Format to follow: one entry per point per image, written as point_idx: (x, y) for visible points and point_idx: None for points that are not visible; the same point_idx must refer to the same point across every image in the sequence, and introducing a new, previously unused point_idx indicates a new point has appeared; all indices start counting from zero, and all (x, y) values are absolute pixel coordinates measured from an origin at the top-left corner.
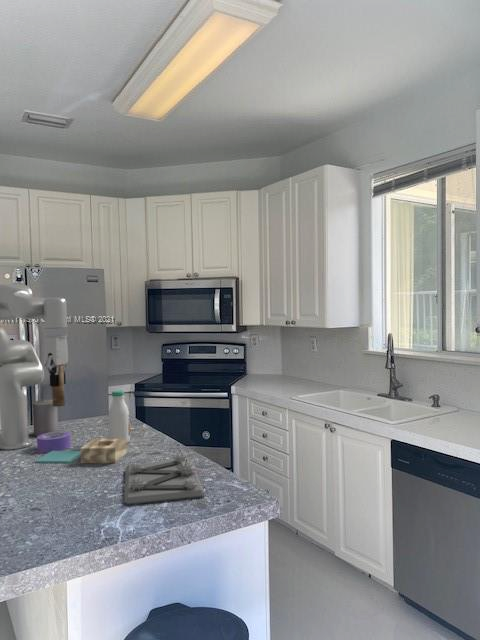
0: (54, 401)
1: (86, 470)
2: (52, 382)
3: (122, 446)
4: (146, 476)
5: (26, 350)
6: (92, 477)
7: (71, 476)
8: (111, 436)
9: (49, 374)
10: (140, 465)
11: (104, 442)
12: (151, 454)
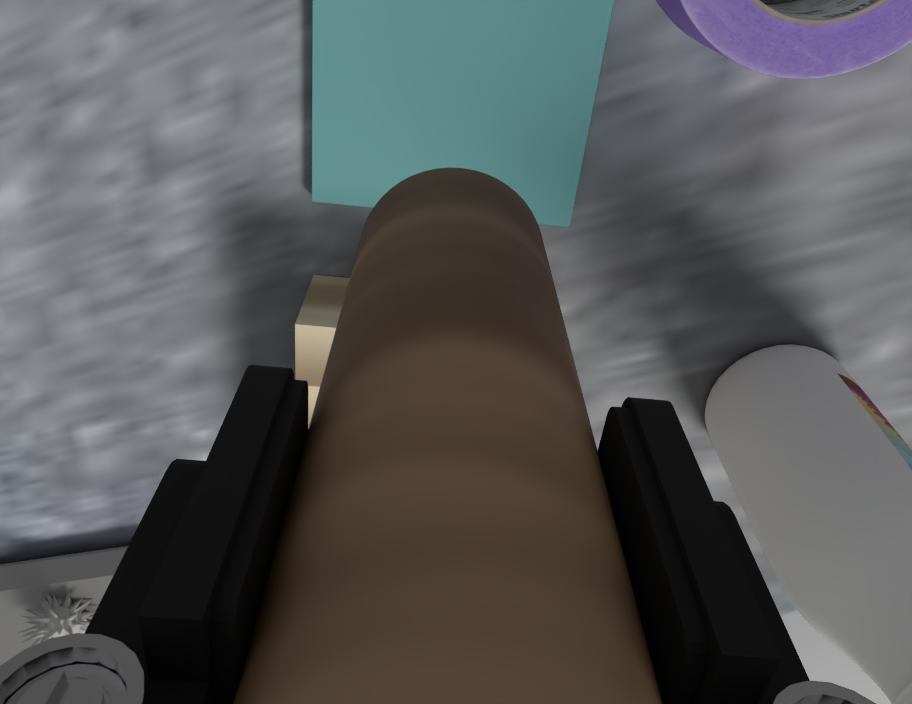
0: (356, 257)
1: (170, 346)
2: (168, 505)
3: None
4: (23, 646)
5: None
6: (58, 406)
7: (50, 293)
8: (745, 399)
9: (13, 671)
10: None
11: None
12: None
